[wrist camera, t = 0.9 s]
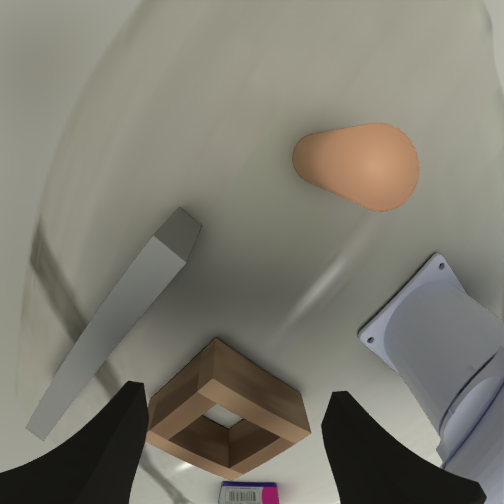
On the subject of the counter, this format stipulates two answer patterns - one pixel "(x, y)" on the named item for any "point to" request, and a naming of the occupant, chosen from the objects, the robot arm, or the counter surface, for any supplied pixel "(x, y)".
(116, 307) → the wall
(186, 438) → the socket block
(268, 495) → the supplement box
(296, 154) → the dowel
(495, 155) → the counter surface
